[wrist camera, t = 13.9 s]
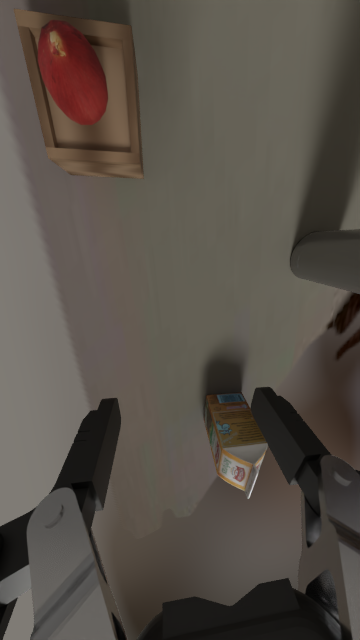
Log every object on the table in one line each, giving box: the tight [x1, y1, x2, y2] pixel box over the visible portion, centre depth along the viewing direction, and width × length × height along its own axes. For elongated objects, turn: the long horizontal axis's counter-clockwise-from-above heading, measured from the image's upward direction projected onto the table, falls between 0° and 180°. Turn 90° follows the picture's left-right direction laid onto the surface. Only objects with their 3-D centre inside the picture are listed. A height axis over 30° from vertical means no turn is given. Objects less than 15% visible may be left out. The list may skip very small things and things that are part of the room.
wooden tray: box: [14, 9, 144, 179], centre depth 22 cm, size 11×11×6 cm
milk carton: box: [204, 392, 268, 499], centre depth 44 cm, size 11×11×19 cm
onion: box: [38, 20, 108, 125], centre depth 17 cm, size 6×6×8 cm
